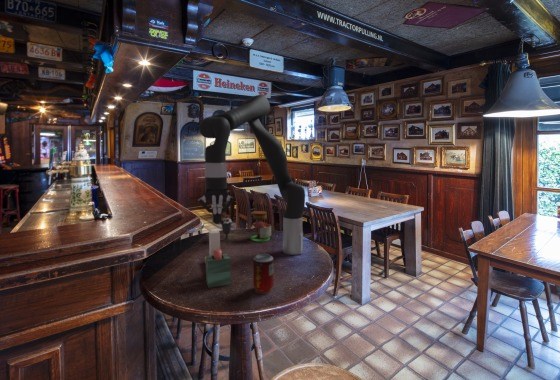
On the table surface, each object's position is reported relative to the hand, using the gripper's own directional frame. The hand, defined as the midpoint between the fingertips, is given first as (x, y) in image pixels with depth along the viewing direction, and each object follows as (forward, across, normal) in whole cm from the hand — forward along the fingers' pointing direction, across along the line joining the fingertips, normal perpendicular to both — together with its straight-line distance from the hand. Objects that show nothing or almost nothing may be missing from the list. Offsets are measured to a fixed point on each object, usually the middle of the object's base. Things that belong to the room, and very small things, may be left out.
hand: (216, 223), depth 107 cm
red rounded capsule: (+15, 0, 0) cm, 15 cm away
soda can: (+23, -14, +11) cm, 29 cm away
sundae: (+23, -14, -51) cm, 58 cm away
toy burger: (+23, -32, -46) cm, 60 cm away
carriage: (+23, 0, -6) cm, 23 cm away
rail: (+23, 0, -10) cm, 25 cm away
